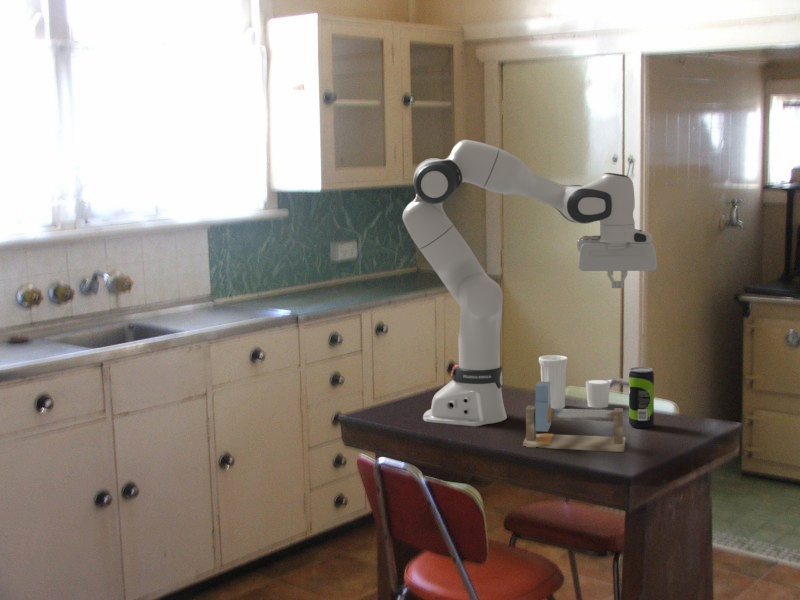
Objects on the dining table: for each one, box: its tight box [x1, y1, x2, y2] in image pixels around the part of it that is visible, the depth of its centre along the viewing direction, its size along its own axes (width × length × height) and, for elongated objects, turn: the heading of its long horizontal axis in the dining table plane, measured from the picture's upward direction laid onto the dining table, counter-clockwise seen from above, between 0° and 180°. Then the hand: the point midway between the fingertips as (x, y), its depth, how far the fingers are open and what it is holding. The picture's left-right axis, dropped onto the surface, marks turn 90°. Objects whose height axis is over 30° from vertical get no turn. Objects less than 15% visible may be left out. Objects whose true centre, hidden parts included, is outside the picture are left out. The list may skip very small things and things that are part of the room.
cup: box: [538, 354, 569, 409], centre depth 297 cm, size 8×8×14 cm
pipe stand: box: [522, 405, 626, 453], centre depth 259 cm, size 24×9×9 cm, turn 76°
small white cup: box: [585, 379, 611, 409], centre depth 299 cm, size 7×7×7 cm
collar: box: [534, 380, 552, 433], centre depth 260 cm, size 3×7×11 cm, turn 166°
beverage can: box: [628, 366, 655, 430], centre depth 275 cm, size 6×6×15 cm
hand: (617, 288), depth 280 cm, fingers closed
